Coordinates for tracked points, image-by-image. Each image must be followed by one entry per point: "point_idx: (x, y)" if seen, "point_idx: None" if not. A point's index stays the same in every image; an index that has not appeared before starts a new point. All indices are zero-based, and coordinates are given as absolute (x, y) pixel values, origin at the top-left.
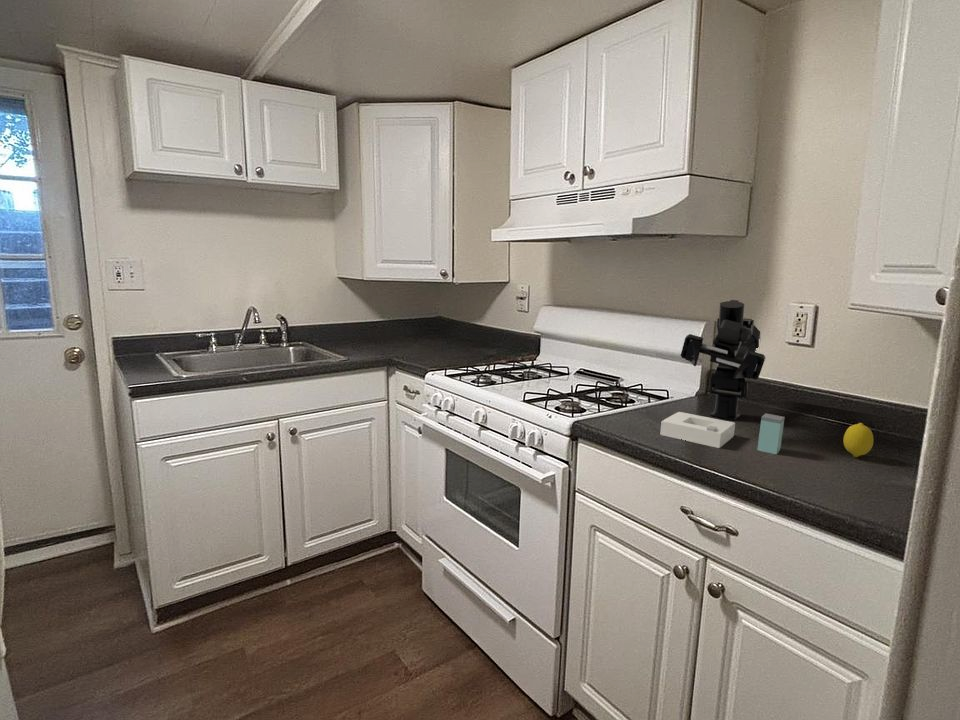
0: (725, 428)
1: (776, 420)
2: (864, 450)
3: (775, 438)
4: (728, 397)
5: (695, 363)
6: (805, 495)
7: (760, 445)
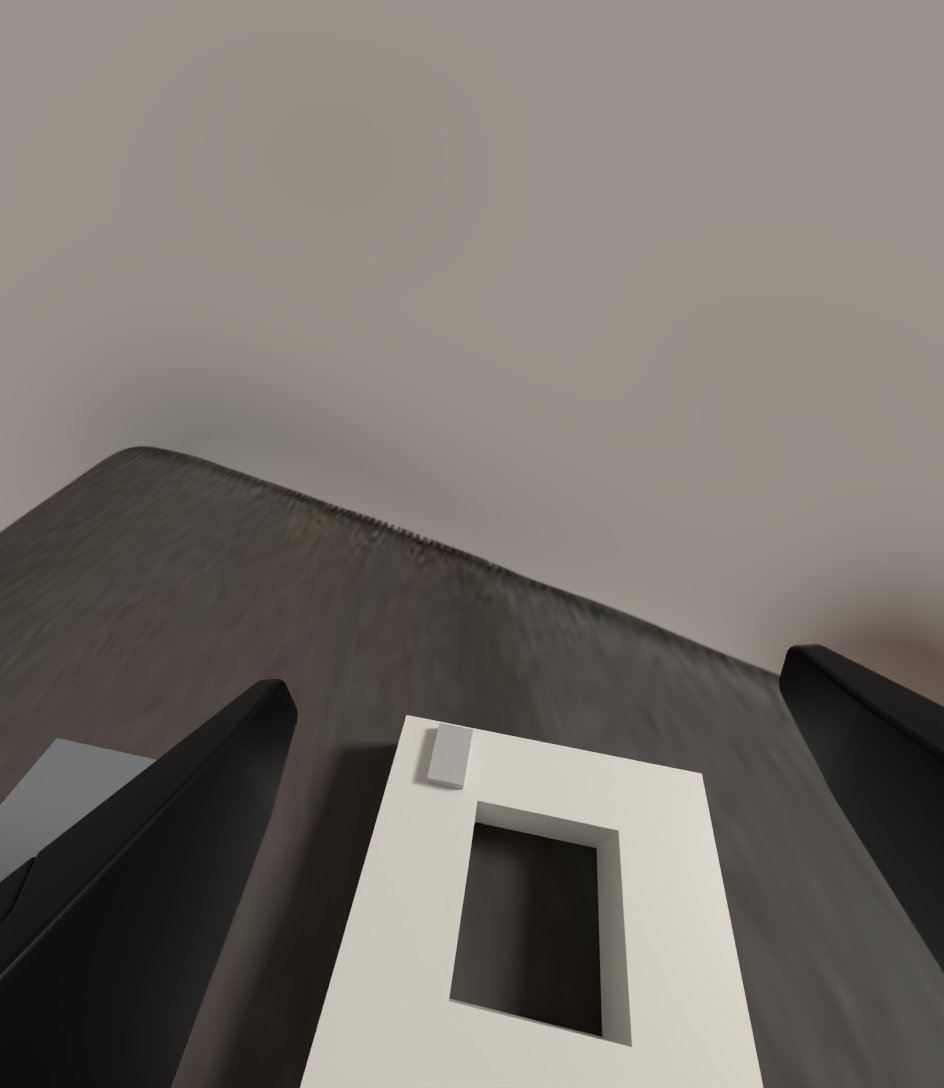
0: (380, 839)
1: (83, 745)
2: None
3: None
4: None
5: (791, 648)
6: (231, 501)
7: None
